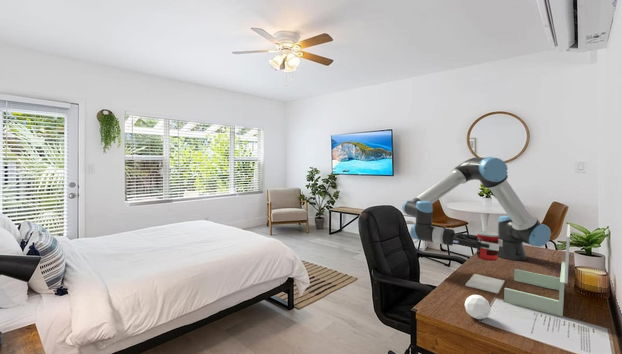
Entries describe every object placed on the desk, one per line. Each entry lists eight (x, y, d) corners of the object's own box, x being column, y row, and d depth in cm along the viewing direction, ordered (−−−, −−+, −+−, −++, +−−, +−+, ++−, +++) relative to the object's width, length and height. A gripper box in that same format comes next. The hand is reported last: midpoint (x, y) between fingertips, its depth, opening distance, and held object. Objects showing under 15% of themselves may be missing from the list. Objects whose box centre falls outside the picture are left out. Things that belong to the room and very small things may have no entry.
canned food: (479, 254, 136) (480, 230, 135) (499, 258, 130) (500, 233, 130) (474, 257, 131) (474, 232, 130) (494, 262, 125) (496, 236, 124)
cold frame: (514, 279, 136) (517, 218, 134) (566, 291, 124) (570, 224, 123) (504, 301, 115) (506, 229, 113) (565, 317, 103) (569, 237, 101)
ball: (473, 327, 102) (461, 310, 101) (470, 308, 109) (459, 292, 108) (497, 322, 98) (484, 304, 97) (492, 303, 105) (480, 286, 104)
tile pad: (474, 275, 141) (474, 273, 141) (504, 281, 133) (504, 280, 133) (465, 285, 129) (465, 284, 129) (497, 293, 121) (497, 292, 121)
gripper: (450, 239, 150) (504, 248, 135) (436, 248, 134) (495, 260, 119) (450, 224, 149) (504, 232, 134) (437, 232, 134) (496, 241, 119)
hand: (500, 245), depth 127 cm, fingers closed on canned food, 8 cm apart
